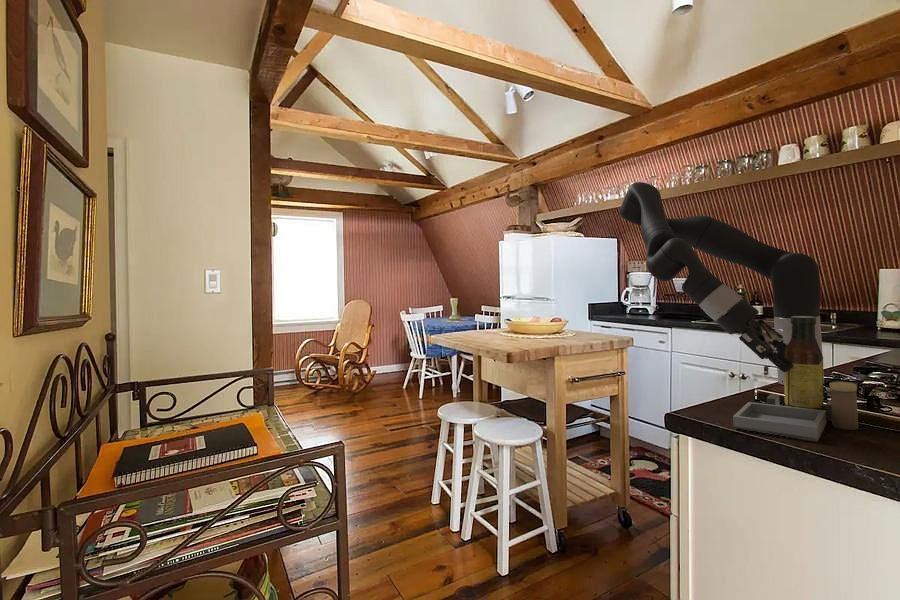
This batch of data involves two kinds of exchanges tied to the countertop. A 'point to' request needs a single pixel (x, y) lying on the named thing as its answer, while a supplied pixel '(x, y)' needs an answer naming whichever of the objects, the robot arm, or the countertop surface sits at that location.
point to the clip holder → (774, 400)
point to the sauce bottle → (804, 366)
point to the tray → (781, 420)
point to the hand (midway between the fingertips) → (792, 364)
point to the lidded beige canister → (844, 405)
